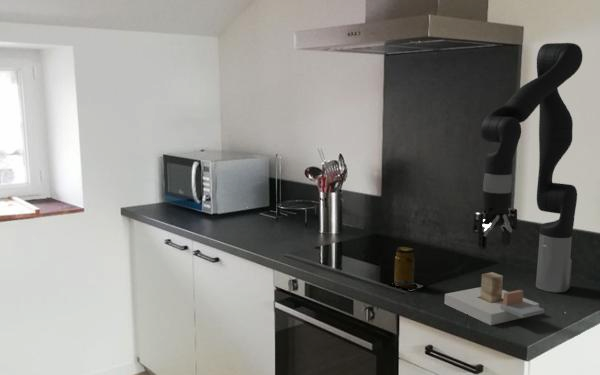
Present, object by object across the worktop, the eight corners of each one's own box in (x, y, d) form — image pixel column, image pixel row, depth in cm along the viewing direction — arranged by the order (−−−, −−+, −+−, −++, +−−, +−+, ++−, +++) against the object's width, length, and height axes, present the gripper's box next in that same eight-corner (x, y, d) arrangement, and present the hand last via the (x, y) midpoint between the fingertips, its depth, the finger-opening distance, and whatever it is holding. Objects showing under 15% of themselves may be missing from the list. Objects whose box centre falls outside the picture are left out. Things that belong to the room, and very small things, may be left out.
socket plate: (490, 294, 182) (490, 285, 181) (538, 314, 166) (539, 303, 166) (444, 303, 173) (444, 293, 173) (490, 325, 158) (491, 314, 157)
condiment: (401, 280, 195) (402, 244, 193) (423, 286, 189) (425, 249, 187) (388, 285, 189) (389, 248, 188) (411, 291, 184) (412, 254, 182)
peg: (490, 305, 172) (492, 272, 171) (500, 310, 169) (502, 276, 167) (479, 307, 171) (481, 274, 169) (490, 312, 167) (492, 277, 165)
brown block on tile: (521, 303, 165) (522, 289, 164) (544, 312, 158) (545, 297, 157) (500, 308, 161) (501, 293, 160) (522, 317, 154) (523, 302, 154)
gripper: (488, 194, 158) (484, 253, 161) (526, 189, 164) (522, 247, 167) (467, 189, 164) (465, 246, 167) (505, 185, 171) (502, 240, 174)
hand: (494, 246), depth 167 cm, fingers open, 8 cm apart
